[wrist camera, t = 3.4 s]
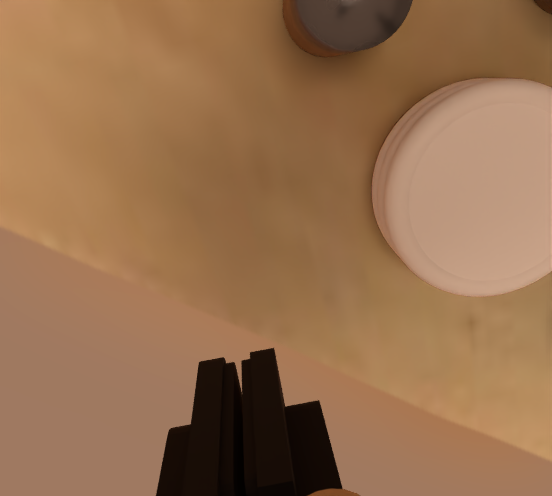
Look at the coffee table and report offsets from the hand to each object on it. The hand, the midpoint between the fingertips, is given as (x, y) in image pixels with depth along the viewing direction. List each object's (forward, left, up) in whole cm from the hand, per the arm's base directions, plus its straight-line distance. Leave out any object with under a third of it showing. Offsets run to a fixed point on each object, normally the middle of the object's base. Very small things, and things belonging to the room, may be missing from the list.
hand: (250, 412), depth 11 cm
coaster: (-11, 0, -16) cm, 19 cm away
